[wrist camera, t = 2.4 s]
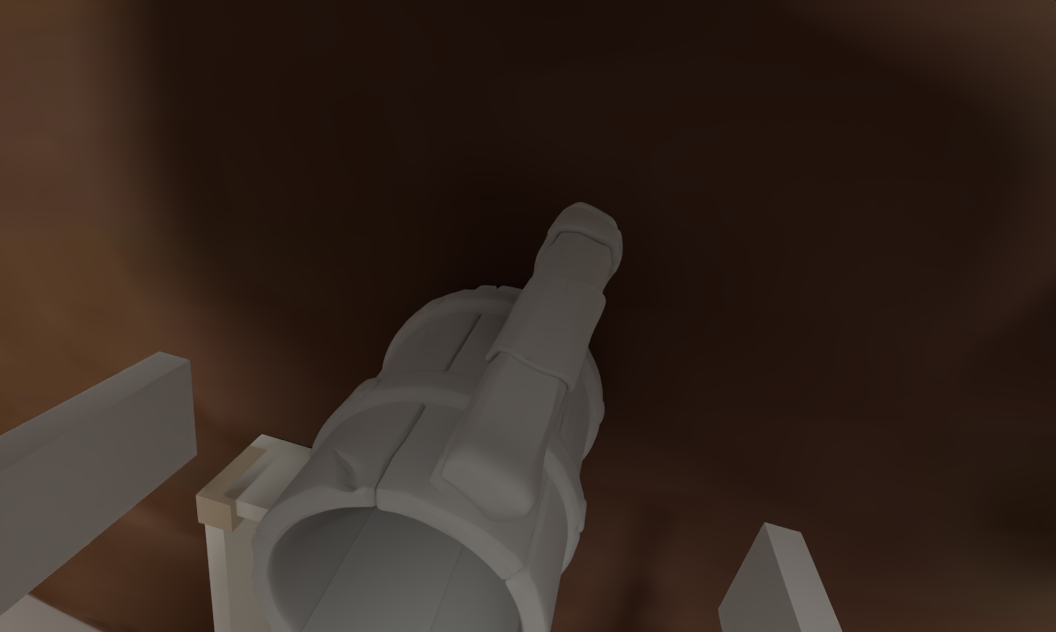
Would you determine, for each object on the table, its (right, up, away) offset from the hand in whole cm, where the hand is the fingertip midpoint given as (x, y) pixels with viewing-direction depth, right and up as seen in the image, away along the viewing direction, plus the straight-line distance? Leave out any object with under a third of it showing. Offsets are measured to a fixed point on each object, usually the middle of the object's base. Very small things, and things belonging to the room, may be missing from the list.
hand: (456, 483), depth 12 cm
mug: (+2, +3, +7) cm, 8 cm away
